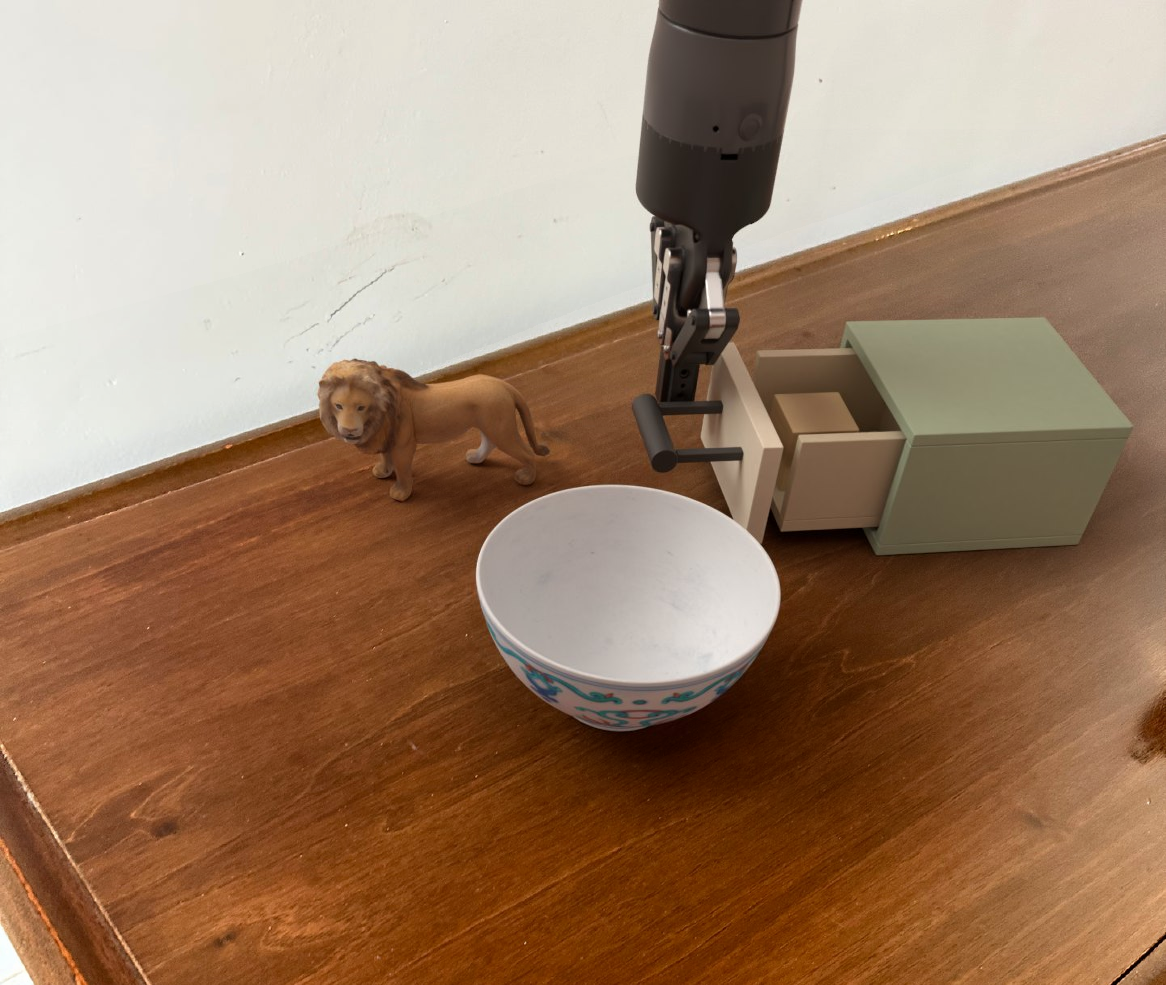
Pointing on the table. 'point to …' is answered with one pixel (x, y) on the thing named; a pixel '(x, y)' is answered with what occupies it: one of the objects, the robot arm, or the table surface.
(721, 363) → the drawer
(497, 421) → the lion figurine
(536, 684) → the chinaware
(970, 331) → the cabinet
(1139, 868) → the table surface
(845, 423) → the birch block
